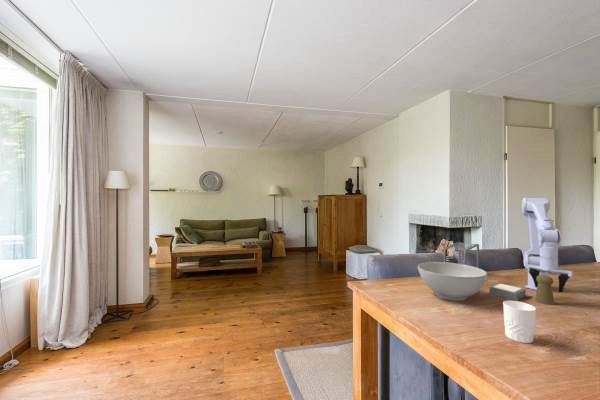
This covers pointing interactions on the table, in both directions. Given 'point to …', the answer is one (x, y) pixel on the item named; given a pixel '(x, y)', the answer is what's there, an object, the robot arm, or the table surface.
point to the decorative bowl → (452, 279)
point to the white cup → (519, 321)
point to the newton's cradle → (462, 252)
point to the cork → (544, 290)
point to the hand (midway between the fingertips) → (548, 289)
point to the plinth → (508, 291)
